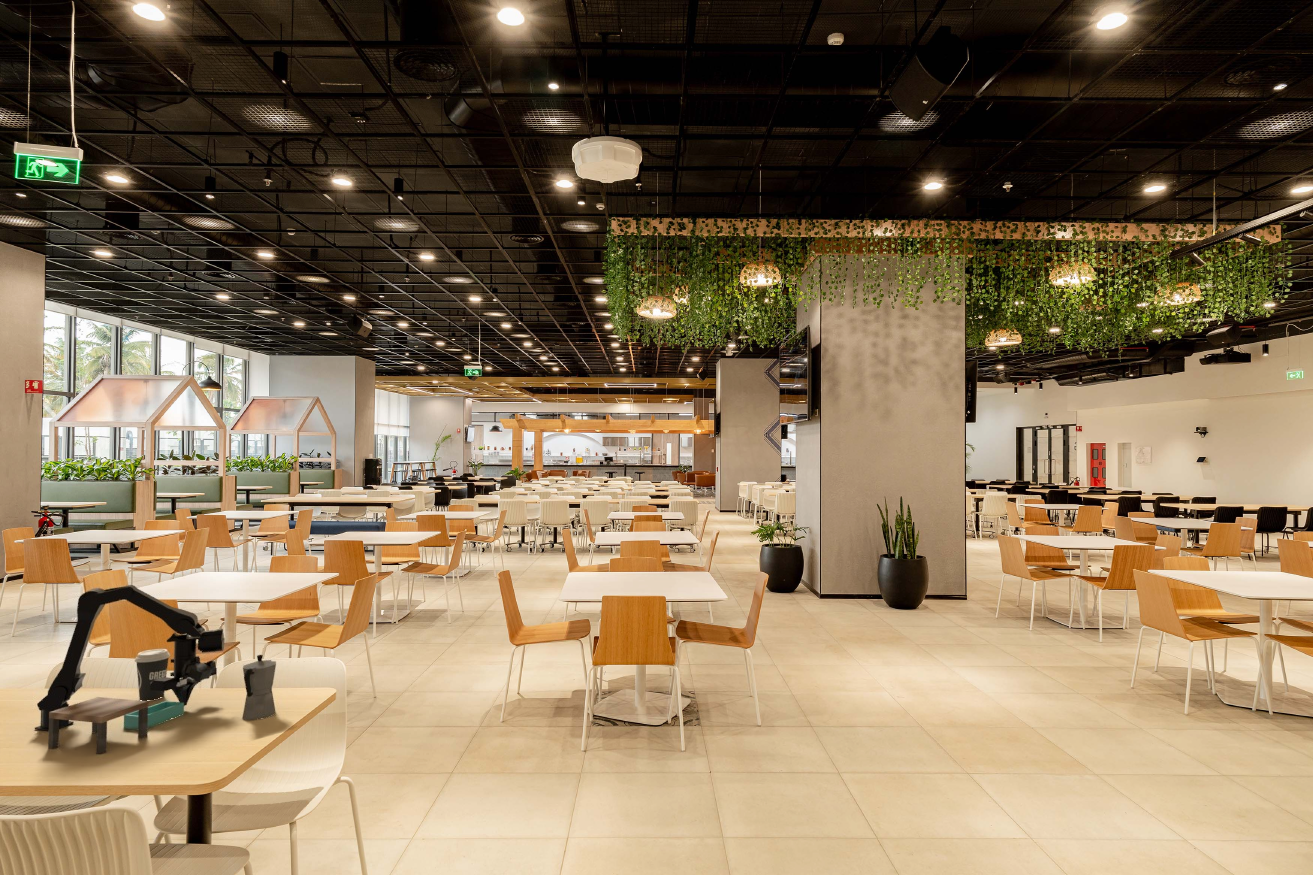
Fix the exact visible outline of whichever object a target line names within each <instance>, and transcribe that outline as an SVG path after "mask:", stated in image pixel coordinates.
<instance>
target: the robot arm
mask: <svg viewBox="0 0 1313 875" xmlns="http://www.w3.org/2000/svg"><path fill="white" fill-rule="evenodd" d="M119 601H127V602H128V603H130V604H133V605H135V606H136V607H138V608H140V609H143V611H146V612H148V613H150V614H152V615H153V616H155V617H157V618H159V619H160V620H162V621H163V622H164V623H165V624H166V625H167V626H168V627H169V628H170V629H171V630H173V631H174V632H173V633H172V634H171V636H170V637H168V638H167V639H166V643H174V644H173V658H171V659H170V663H172V664H173V671H172V672H170V673H169V674H170V675H169V676H170V677H167V676H166V677H162V678H159V679H155V680H153V681H152V682H151V683H150V690H155V691H165V692H167V691H170V690H171V691H172V692H173V693H174V695H175V696H176V698H177V700H178V702H182V703H184V707H185V706H187V704H188V703H189V700H190V697H191V695H192V692H193V690H194V688H195V686H197V684H199V683H200V682H202V681H204V680H208V679H210V678H211V677H212V676H215V675H217V669H218V668H217V665H216V664H217V663H216V661H215V660H208V661H207V662H202V661H201V658H200V656H198V655H197V650H198V651H199V652H201V653H202V654H205V653H216V652H224V649H225V635H224V628H218V629H214V630H213V629H211V630H206V629H205V628H204V626H202V625H201V624H200V623H199V618H198V615H196V613H193V612H191V611H188V610H185V609H182V608H177V607H173V606H170V605H168V604H167V603H166V602H163V601H162V600H160V599H158V598H156V597H154V596H152V595H151V594H149V593H146V592H144V591H143V590H141V589H140V588H138V587H136V586H135V585H133V584H126V585H124V586H118V587H112V588H111V587H110V588H107V589H105V588H104V589H103V588H101V587H96V588H91V589H90V590H87V591H85V592H84V593H82V594H81V595H80V596H79V597H78V600H77V607H76V608H77V609H76V615H77V617H76V618H77V620H76V624H75V627H74V630H73V633H72V635H71V636H72V637H71V640H70V642H69V645H68V649H67V651H66V654H65V657H64V661H63V663H62V667H61V669H60V670H59V671H58V673H57V675H56V676H55V678H54V680H53V681H52V683H51V684H50V687H49V688H48V690H47V694H46V695H45V696H44V697H43V698H42V699H41V700H40V701H39V702H38V703H37V704H36V705H37V708H38V709H39V711H40V725H39V726H35V727H34V730H37V731H38V730H39V731H48V732H49V712H51V711H55V710H58V709H61V708H64V707H67V706H70V704H69V703H68V701H69V700H70V699H71V697H72V696H73V695H74V694H76V693H77V692H78V691H79V690H80V689H81V688H82V687H83V681H84V678H85V676H86V675H87V673H86V672H81V665H82V662H83V659H84V656H85V653H86V650H87V647H88V644H89V641H90V638H91V634H92V631H93V628H94V626H95V622H96V620H97V619H98V617H99V616H100V614H101V613H102V611H103V609H104V608H105V606H106V605H107V604H111V603H116V602H119ZM74 722H75V721H73V720H62V719H59V729H61V728H64V727H66V726H67V727H68V726H70V725H73V724H75V723H74Z"/></svg>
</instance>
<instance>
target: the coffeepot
mask: <svg viewBox="0 0 1313 875" xmlns="http://www.w3.org/2000/svg"><path fill="white" fill-rule="evenodd" d="M263 658H264V657H263V654H257V655H256V659H257V661H253V662H250V663H247V664H245V665H243V666H242V671H243V672H242V673H243V680H244V685H245V686H244V687H245V690H246V697H245V701H244V708H243V712H242V713H243V714H242V719H243V720H246V721H257V719H258V720H262V719H261V718H264V719H267V718H270V717H272V716H274V715H275V714H276V706H275V702H274V701H275V700H274V693H273V685H274V680H275V674H276V673H275V672H276V666H277V661H275V660H272V659H268V660H267V659H265V660H263ZM273 714H274V715H273ZM271 715H272V716H271ZM269 716H270V717H269ZM266 717H267V718H266Z"/></svg>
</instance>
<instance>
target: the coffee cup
mask: <svg viewBox="0 0 1313 875" xmlns="http://www.w3.org/2000/svg"><path fill="white" fill-rule="evenodd" d="M170 657H171V653H170V652H169V650H168V649H166V648H157V649H156V648H154V649H149V650H143V651H140V652H138V653H137V656H136V657H135V658H134V662H135V663H136V673H137V685H138V698H139V700H142V701H147V700H154V699H158V698H160V697H163V698H164V697H165V692H166V691H155V690H150V683H151V682H152V681H153V680H155V679H159V678H162V677H167V673H168V665H169V658H170ZM158 700H159V699H158ZM154 701H155V700H154Z"/></svg>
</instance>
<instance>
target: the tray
mask: <svg viewBox="0 0 1313 875" xmlns="http://www.w3.org/2000/svg"><path fill="white" fill-rule="evenodd" d="M138 713H139V710H138V711H135V712H132V713H129V714H126V715H124V716H123V728H124V729H128V730H135V729H138ZM182 714H184V715H185V706H184V703H182V702H179V701H171V700H164V701H162V702H159V703H157V704H154V705H151V706H150V705H149V706H148V729H149V727H150V728H152V727H154V726H157V725H156V724H158V725H160V724H159V723H161V724H163V723H165V722H164V721H166V720H169V721H171V720H170V719H171V718H174V719H176V718H175V717H177V716H179V715H182ZM182 716H183V715H182ZM177 718H178V717H177ZM162 722H163V723H162ZM166 722H167V721H166Z"/></svg>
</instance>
